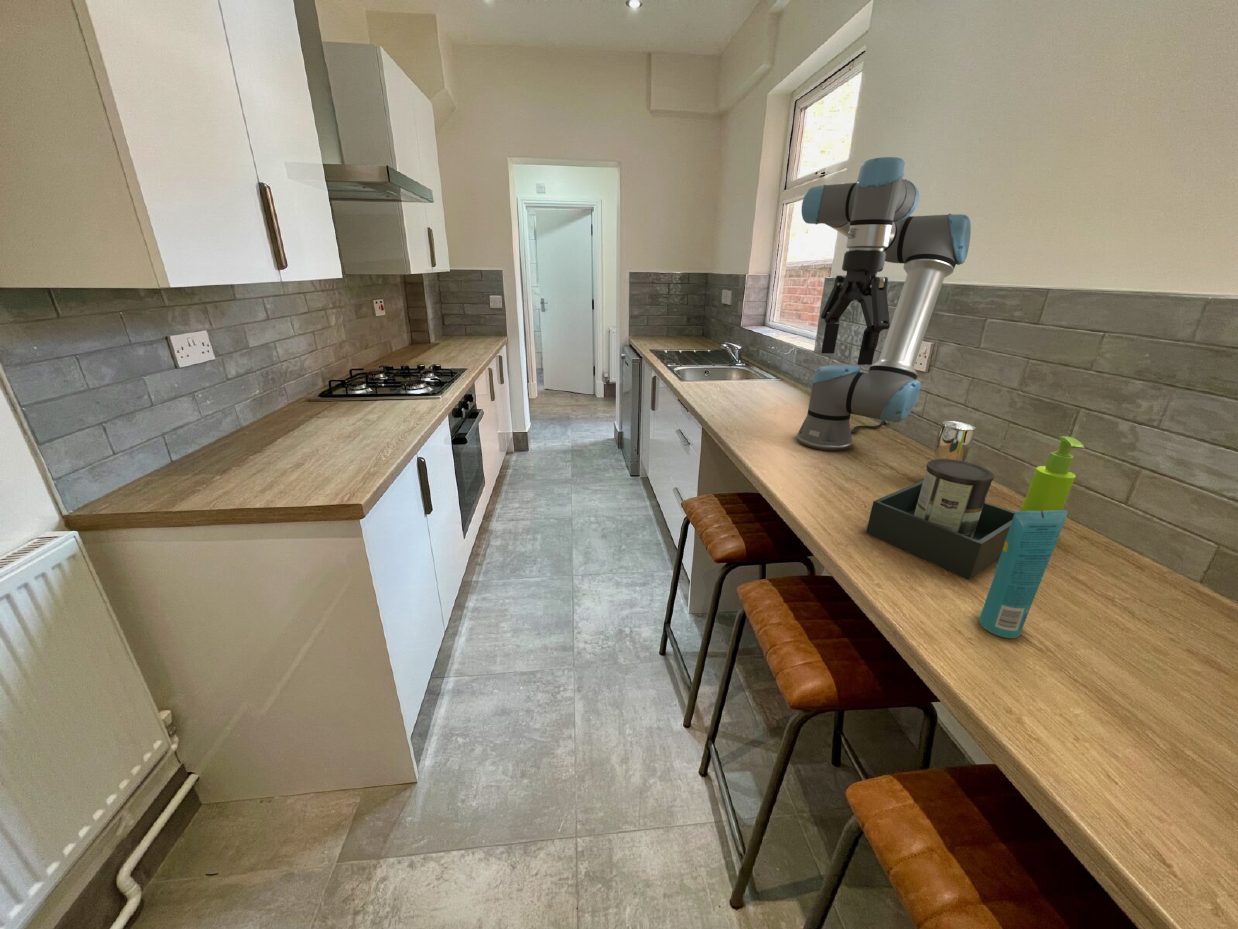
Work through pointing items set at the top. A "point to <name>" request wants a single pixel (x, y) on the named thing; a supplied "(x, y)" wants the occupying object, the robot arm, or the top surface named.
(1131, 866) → the top surface
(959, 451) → the silver metal cylinder
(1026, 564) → the tube
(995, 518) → the storage bin
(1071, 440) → the soap dispenser
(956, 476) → the coffee can
